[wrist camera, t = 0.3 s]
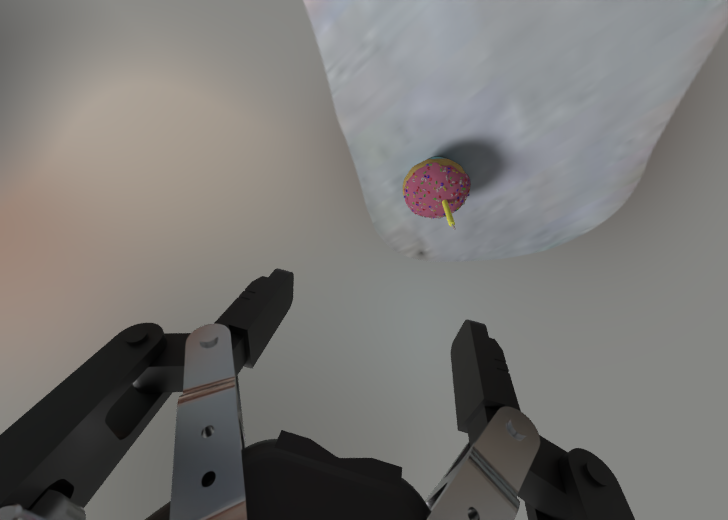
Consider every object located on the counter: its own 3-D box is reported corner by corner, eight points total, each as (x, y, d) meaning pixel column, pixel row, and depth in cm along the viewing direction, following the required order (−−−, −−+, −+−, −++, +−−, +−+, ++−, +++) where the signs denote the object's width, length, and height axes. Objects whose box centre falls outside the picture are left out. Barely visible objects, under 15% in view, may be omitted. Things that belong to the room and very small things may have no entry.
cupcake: (471, 142, 34) (483, 197, 26) (461, 197, 40) (468, 255, 33) (404, 144, 36) (397, 197, 28) (404, 197, 42) (398, 252, 34)
